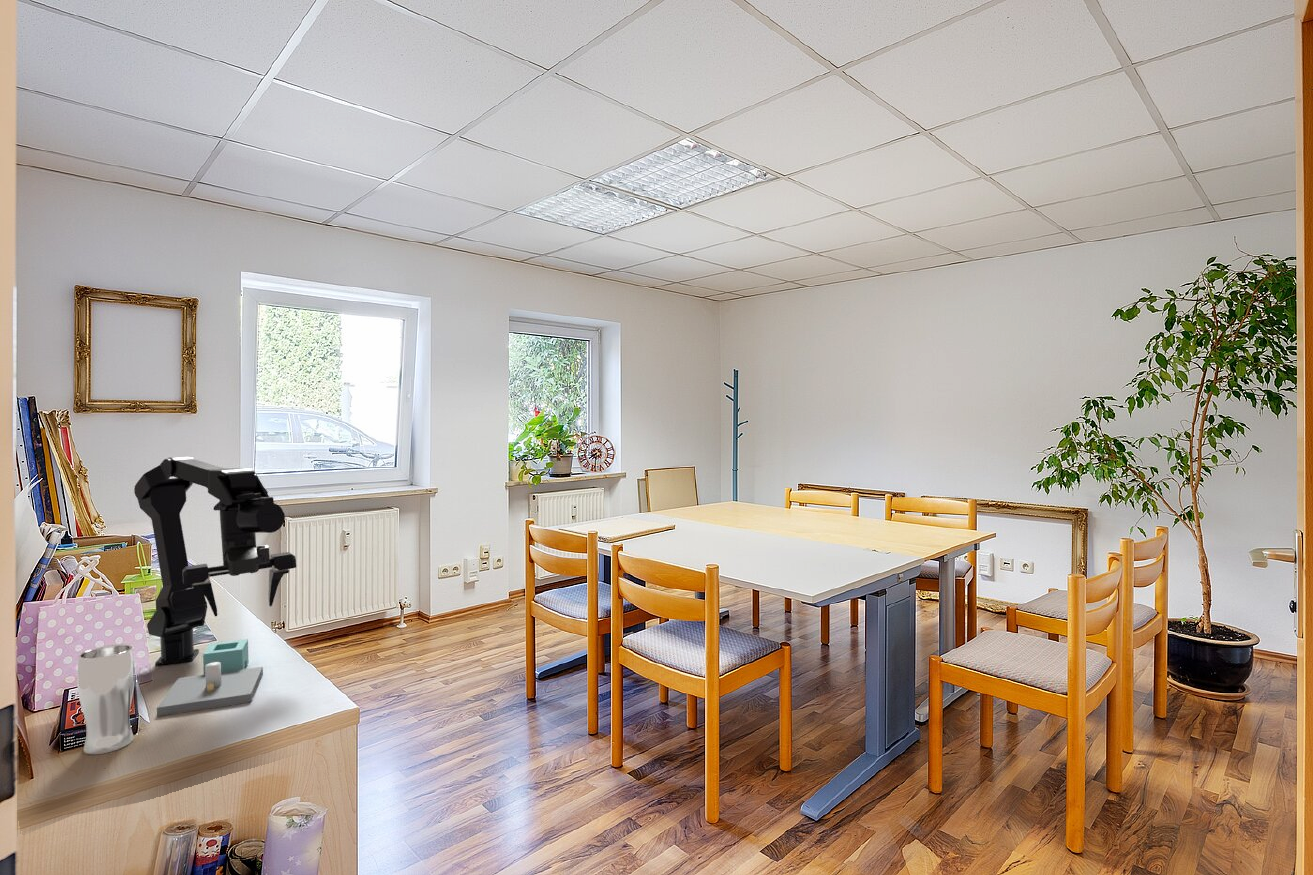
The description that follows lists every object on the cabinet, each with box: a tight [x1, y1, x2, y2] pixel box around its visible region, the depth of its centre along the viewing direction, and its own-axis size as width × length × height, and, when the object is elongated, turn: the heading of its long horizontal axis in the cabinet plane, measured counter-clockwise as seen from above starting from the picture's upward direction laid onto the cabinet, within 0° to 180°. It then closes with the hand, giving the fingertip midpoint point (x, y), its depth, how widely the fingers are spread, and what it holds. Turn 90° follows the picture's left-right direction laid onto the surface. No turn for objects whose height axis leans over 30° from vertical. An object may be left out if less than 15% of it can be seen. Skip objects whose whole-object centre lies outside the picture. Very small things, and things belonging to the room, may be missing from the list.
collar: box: [202, 638, 249, 675], centre depth 134 cm, size 7×7×5 cm
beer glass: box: [76, 643, 136, 755], centre depth 104 cm, size 7×7×15 cm
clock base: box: [156, 662, 264, 717], centre depth 123 cm, size 14×14×6 cm
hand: (243, 610), depth 131 cm, fingers open, 9 cm apart
